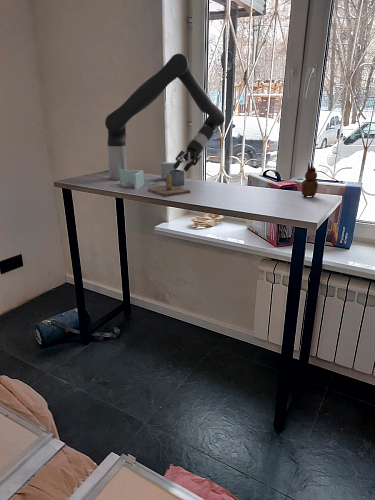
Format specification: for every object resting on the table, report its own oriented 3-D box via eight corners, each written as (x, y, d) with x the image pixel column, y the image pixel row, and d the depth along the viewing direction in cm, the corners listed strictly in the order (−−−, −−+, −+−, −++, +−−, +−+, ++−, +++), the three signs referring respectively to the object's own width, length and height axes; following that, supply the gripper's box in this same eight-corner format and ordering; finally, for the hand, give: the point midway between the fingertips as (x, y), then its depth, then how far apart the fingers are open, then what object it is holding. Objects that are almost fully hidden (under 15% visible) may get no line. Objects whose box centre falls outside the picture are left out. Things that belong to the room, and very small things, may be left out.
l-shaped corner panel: (121, 184, 188) (120, 169, 185) (143, 185, 186) (143, 170, 183) (112, 189, 177) (111, 173, 174) (136, 190, 175) (136, 174, 172)
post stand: (147, 191, 172) (147, 173, 169) (172, 187, 180) (172, 170, 177) (165, 196, 162) (165, 178, 159) (190, 192, 170) (190, 174, 167)
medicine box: (176, 178, 203) (176, 162, 199) (175, 180, 198) (175, 163, 195) (162, 178, 203) (162, 162, 200) (161, 179, 199) (160, 163, 196)
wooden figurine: (301, 197, 163) (305, 163, 158) (299, 195, 169) (303, 161, 163) (317, 198, 162) (322, 163, 157) (314, 195, 168) (319, 162, 162)
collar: (169, 184, 187) (169, 170, 184) (177, 183, 190) (177, 169, 187) (175, 186, 183) (175, 171, 181) (184, 185, 186) (184, 170, 184)
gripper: (184, 138, 190) (166, 162, 187) (203, 140, 180) (184, 166, 177) (192, 148, 195) (175, 172, 192) (210, 150, 185) (192, 176, 182)
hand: (179, 169), depth 185 cm, fingers open, 8 cm apart
